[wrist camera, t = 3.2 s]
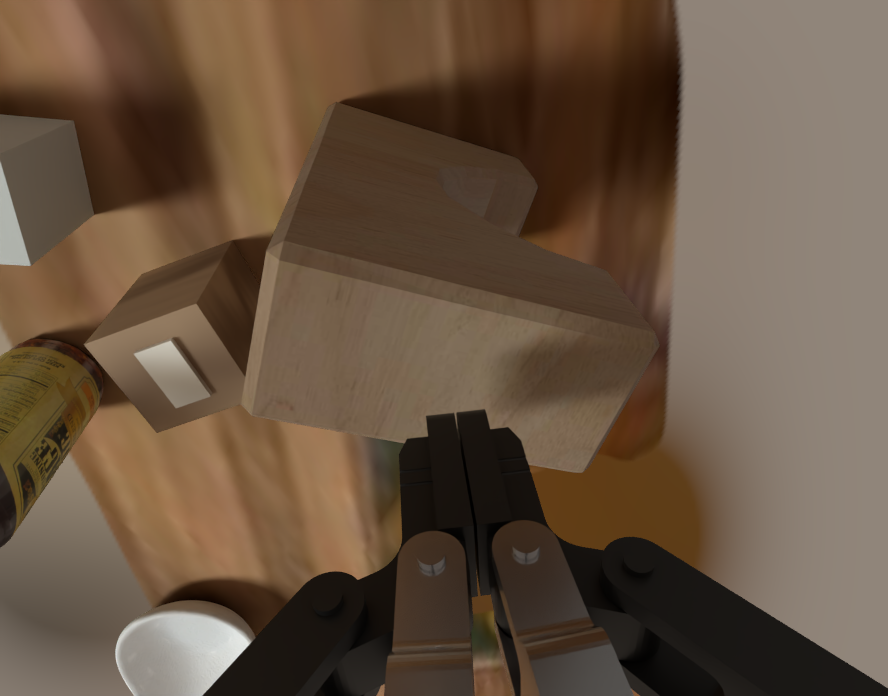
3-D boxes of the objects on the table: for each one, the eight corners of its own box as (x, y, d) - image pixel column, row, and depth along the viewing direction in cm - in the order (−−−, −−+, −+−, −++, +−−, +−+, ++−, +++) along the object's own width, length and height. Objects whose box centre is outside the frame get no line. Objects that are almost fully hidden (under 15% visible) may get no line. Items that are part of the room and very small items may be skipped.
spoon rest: (114, 582, 49) (77, 666, 43) (257, 573, 50) (240, 654, 44) (175, 723, 61) (152, 804, 55) (288, 714, 63) (278, 792, 57)
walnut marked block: (141, 273, 35) (81, 347, 28) (232, 239, 34) (194, 306, 27) (196, 352, 38) (155, 436, 31) (281, 322, 37) (257, 401, 30)
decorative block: (524, 158, 33) (674, 342, 16) (488, 248, 36) (585, 486, 19) (331, 94, 30) (268, 234, 13) (308, 197, 33) (232, 420, 16)
